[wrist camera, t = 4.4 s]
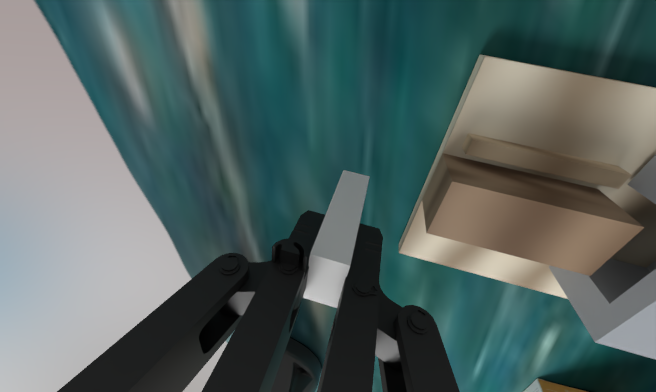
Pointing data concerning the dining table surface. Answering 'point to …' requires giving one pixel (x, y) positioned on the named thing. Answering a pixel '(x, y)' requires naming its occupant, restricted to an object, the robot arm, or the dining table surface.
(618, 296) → the carriage
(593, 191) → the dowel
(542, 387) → the small box
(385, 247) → the dining table surface
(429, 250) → the jig
